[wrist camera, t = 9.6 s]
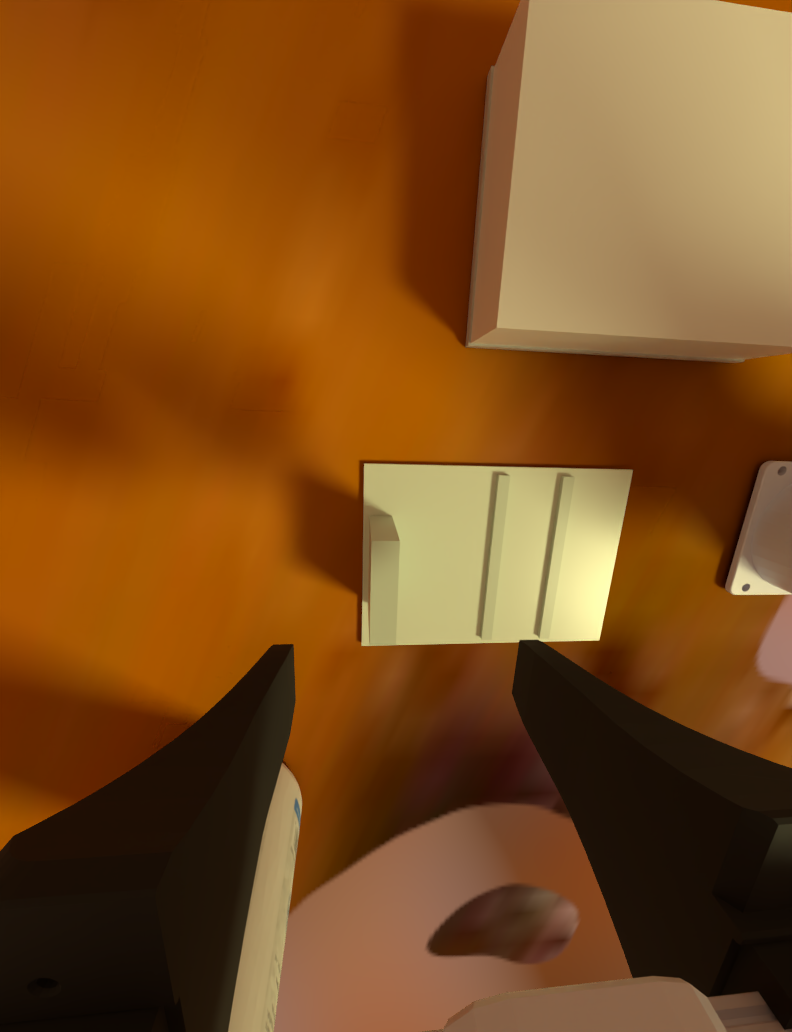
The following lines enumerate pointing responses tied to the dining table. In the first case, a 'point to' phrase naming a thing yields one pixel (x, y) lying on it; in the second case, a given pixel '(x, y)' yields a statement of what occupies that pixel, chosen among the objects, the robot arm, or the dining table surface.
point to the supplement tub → (268, 912)
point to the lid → (488, 552)
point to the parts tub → (637, 182)
